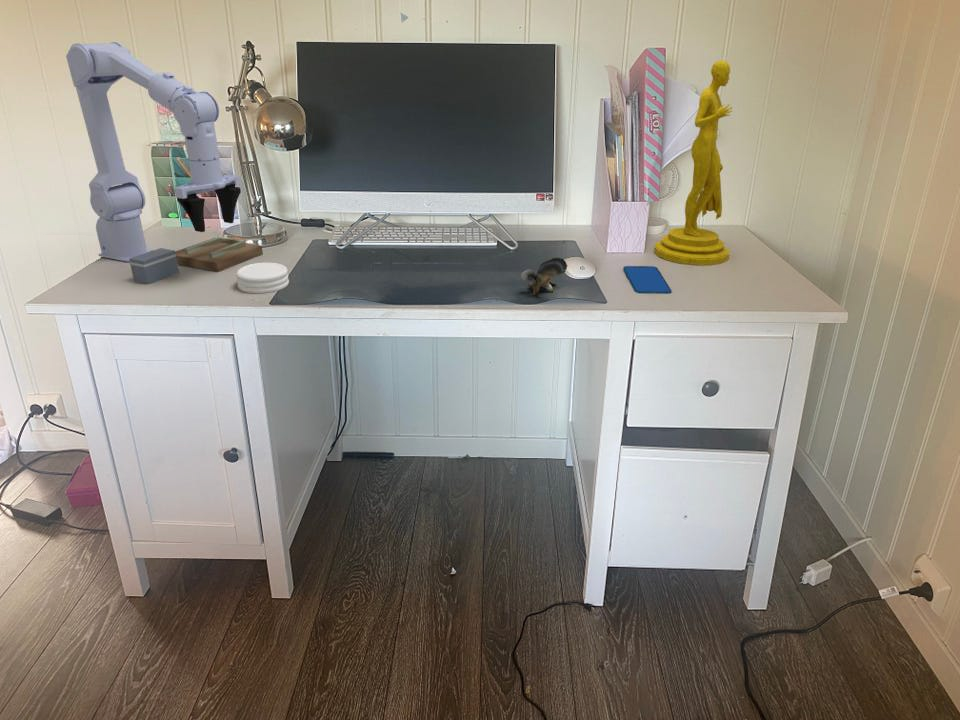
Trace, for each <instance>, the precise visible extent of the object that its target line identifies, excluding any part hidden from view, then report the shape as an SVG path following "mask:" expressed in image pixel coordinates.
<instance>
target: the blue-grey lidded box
mask: <svg viewBox="0 0 960 720" xmlns="http://www.w3.org/2000/svg"><path fill="white" fill-rule="evenodd" d="M152 250H153V251H150V252H147V253H144V254H141V255H138V256H135V257H132V258H129V260H130V261H129V265H130V269H131V273H132V278H133V282H135V283H140V284H145V285H151V284H153V283H156V282H158V281H159V282H160V281H161V280H163V279H167V278H170V277H171V276H175V275H177V274H180V271H179V270H180V269H179V264H177V259H176V254H175V251H176V250H175V249H169V248H163V247H160V248H156V249H152Z"/></svg>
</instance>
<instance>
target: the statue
mask: <svg viewBox="0 0 960 720" xmlns="http://www.w3.org/2000/svg"><path fill="white" fill-rule="evenodd" d="M730 66H731V65H730V64H729V62H728V61H725V60H718V61H716V62H714V63H713V65H712V66H711V70H710V72H711V73H710V75H711V76H712V79H711V83H710V85H709V86H708V87H707V88H705V89H704V90H703V91H702V92H701V94H700V97H699V104H698V110H697V113H696V116H695V120H694V126H695V127H696V128H699V132H698V134H697V136H696V137H695V139H694V140H693V143H692V145H691V157H692V161H693V174H692V187H691V190H690V192H689V193H688V195H687V198H686V200H685V206H684V207H685V208H684V214H685V224H684V227H676V228H672V229H670V230H669V231H668V233H667V234H666V235H663V236H662V238H661V240H659V241H657V242H656V243H655V244H654V248H653V253H655V255H656V256H658V257H659V258H661V259H664V260H666V261H668V262H673V263H677V264H683V265H691V266H692V265H693V266H712V265H718V264H723V263H725V262H727V261H729V257H730V250H729V249H728V248H727V247H726V246H725V242H724V241H723V240H721V239H720V237H719V236H720V235H719V234H718V233H717V232H715V231H712V230H709V229H706V228H699V227H698V222H697V221H698V217H699V216H700V214H701V215H702V216H701V217H702V218H703V217H704V216H705V215H707V212H714V213H716V216H715V220H717V219H720V218H721V217H722V212H723V211H722V209H723V202H722V201H723V199H722V185H721V184H722V183H721V174H720V173H721V172H722V170H723V169H724V167H723V164H722V163H721V157H720V153H719V151H718V148H717V138H718V127H719V119H721V118H725V117H729V116H731V114H730V113H732V112H733V110H731V109H733V106H730V105H731V103H728V104H727V105H724V104H722V101H721V96H720V95H719V93H718V91H719V89H720V87H726V86H727V84H728V83H729V80H730V73H731V67H730ZM724 106H725V107H724ZM729 106H730V107H729Z"/></svg>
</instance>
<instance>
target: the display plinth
mask: <svg viewBox="0 0 960 720" xmlns="http://www.w3.org/2000/svg"><path fill="white" fill-rule="evenodd" d="M174 251H175V254H176V259H177V265H178V266H179V265H180V266H185V267H189V268H194V269H195V268H196V269H200V270H205V271H206V270H207V271H211V272H216V273H219V272H221V271H224V270H227V269H229V268H232V267H234V266H237V265H239V264H241V263H244V262H246V261H249V260H252V259H254V258H256V257H259V256H262V255H263V253H264V252H263V246H262V245H261V244H255V243H254V244H253V243H247V242H245V240H244V239H239V238H233V237H232V238H231V237H226V236H223V237H213V238H211V239H208V240H205V241H201V242H198V243H196V244H193V245H190V246H187V247H184V248H181V249H178V250H174Z"/></svg>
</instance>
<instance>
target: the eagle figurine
mask: <svg viewBox="0 0 960 720" xmlns="http://www.w3.org/2000/svg"><path fill="white" fill-rule="evenodd" d="M567 269H568V264H567V262H566V259H564V258H560V257H552V258H551V259H548V260H545V261H544V262H542V263H541V264H540V265H539V268H538V270H537V271H536V272H534V271H533V270H532V269H527V270H525V271H522V272H521V274H520V278H521V279H522V280H523V282H524V281H526V282H527V281H528V282H531V281H532V284H527V286H528V287H531V288H532V289H533V292H532V296H533V295H534V296H535V295H537V293H539V291H540V288H541V287H542V288H544V289H547V290H548V291H549V290H550V291H549V292H551V291H552V290H553V291H554V288H553V287H552V285H556V283H555V282H552V281H551V278H552V277H557V276H559V275H562V274H564V273H566V270H567ZM550 283H551V284H550Z"/></svg>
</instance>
